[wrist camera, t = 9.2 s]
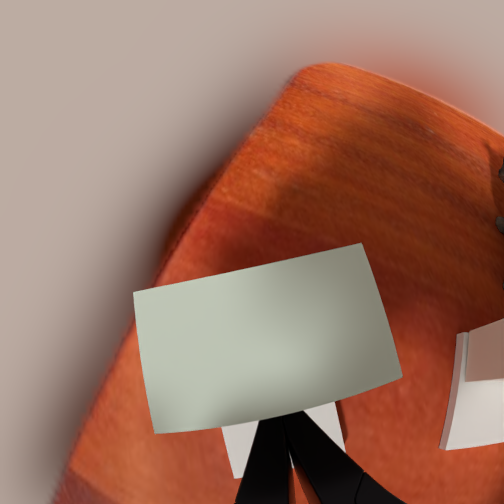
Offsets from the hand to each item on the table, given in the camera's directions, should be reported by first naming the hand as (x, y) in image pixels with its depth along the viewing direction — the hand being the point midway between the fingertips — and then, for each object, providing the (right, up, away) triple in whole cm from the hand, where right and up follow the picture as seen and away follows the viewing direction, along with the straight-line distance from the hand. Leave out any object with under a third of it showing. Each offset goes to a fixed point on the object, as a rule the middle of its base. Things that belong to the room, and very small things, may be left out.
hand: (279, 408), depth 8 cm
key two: (0, -1, +7) cm, 7 cm away
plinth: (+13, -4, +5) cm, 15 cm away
